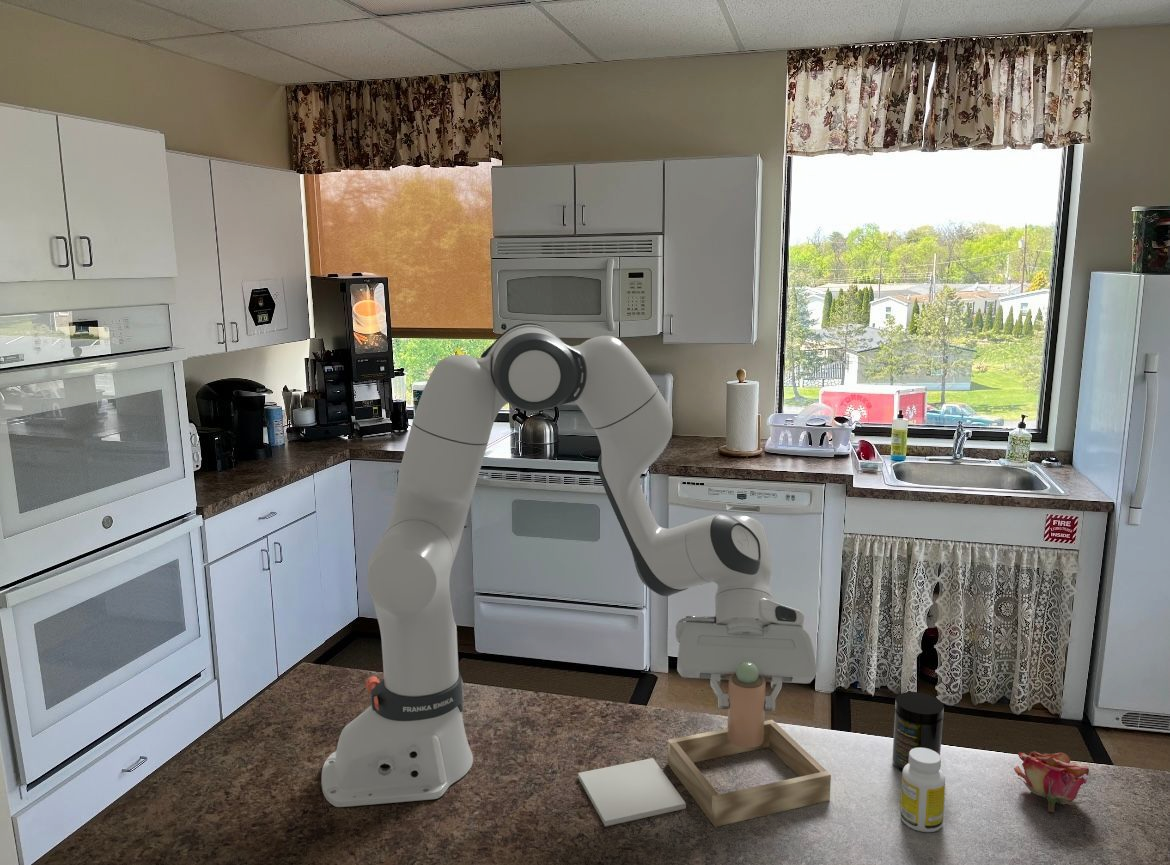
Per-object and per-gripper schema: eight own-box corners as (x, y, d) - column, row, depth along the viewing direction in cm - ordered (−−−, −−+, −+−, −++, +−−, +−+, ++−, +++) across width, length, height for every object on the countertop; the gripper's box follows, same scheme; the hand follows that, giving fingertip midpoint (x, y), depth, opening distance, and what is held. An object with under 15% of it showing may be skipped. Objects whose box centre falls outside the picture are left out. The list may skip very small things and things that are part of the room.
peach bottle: (737, 750, 121) (740, 673, 119) (721, 732, 126) (722, 657, 124) (770, 744, 122) (773, 667, 120) (752, 726, 127) (754, 652, 125)
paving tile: (605, 826, 116) (605, 821, 115) (578, 777, 127) (578, 772, 127) (685, 808, 119) (685, 803, 119) (652, 762, 130) (652, 757, 130)
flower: (1100, 822, 112) (1103, 760, 115) (1027, 802, 114) (1032, 741, 117) (1066, 821, 121) (1069, 763, 124) (999, 802, 123) (1004, 745, 126)
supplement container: (936, 784, 124) (940, 718, 122) (887, 771, 127) (891, 707, 125) (942, 761, 130) (946, 698, 128) (896, 749, 133) (899, 688, 131)
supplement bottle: (943, 814, 117) (947, 749, 115) (941, 838, 112) (946, 770, 111) (901, 804, 119) (905, 741, 118) (897, 827, 115) (902, 761, 113)
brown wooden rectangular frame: (715, 827, 115) (715, 800, 114) (667, 763, 130) (667, 739, 129) (829, 800, 121) (830, 774, 120) (771, 742, 136) (772, 719, 135)
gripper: (675, 607, 129) (674, 698, 121) (814, 612, 127) (821, 706, 119) (675, 623, 134) (674, 711, 126) (808, 628, 132) (815, 719, 124)
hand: (746, 709), depth 123 cm, fingers closed on peach bottle, 5 cm apart
